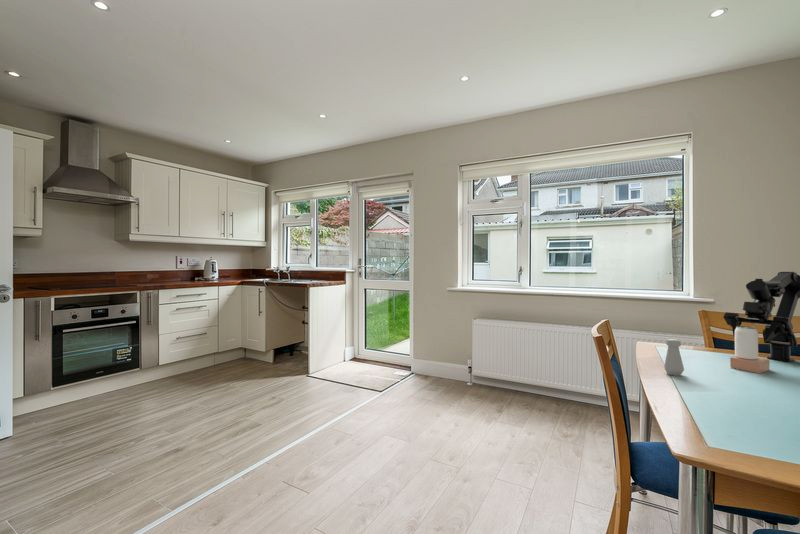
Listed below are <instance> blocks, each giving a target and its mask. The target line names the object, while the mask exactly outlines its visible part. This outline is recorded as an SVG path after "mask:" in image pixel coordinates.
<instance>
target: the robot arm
mask: <svg viewBox="0 0 800 534" xmlns="http://www.w3.org/2000/svg"><path fill="white" fill-rule="evenodd" d="M745 287H746V290H747V292H748V294H749V296H750V298H751V299H752V300H753V299H754V300H753V301H744V302H743V306H742V310H743V311H744V315H745V316H740V315H739V313H738V312H728V311H726V312H725V313H724V314H723V319H724V321H725V323H726V325H729V326H730V327H731V328H732V336H733V338H735V329H736V326H742V323H746V324H747V323H748V324H753V325H761V326H765V327H764V329H762V337H763V343H764V344H769V347H770V355H769V356H766V359H769V360H776V361H780V362H781V361H783V362H792V361H794V360H795V358H793V357H791V348H793V347H794V348H795V347H796V348H797V347H798V339H797V337H796V335H795V334H794V330H793V329H794V325H793V323H792V320H793V317H794V314H795V310H796V306H797V303H798V302H799V299H800V275H799V274H798V273H797V272H796V271H778V272H777V274H776V276H774V277H772V278H771V279H770V280H767V281H764V280H763V278H755V279H754V280H751V281H750V282H748V283H746V285H745ZM780 297H781V299H780V302H779V305H778V308H777V311H776V313H775V316H773V318H772V319H770V318H771V317H772V315H773V314H772V311H773V308H775V307H776V299H775V298H780Z"/></svg>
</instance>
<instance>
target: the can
mask: <svg viewBox="0 0 800 534" xmlns="http://www.w3.org/2000/svg"><path fill="white" fill-rule="evenodd" d="M734 356H736V357H737V358H741V359H747V360H757V359H758V358H759V332H758V330H757V327H755V326H749V325H740V326H736V329H735V337H734Z"/></svg>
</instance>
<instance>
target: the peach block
mask: <svg viewBox="0 0 800 534" xmlns="http://www.w3.org/2000/svg"><path fill="white" fill-rule="evenodd" d="M729 359H730V361H729V363H730V364H729V365H730V367H731V368H732V369H735V368H736V370H740V369H741V370H740V371H745V370H746V372H751V373H757V374H762V373H764V372H765V373H766V372H768V371H770V369H771V368H770V359H769V358H761V357H758V359H757V360H747V359H741V358H737V357H736V356H735V355H734V356H730V357H729ZM731 368H730V369H731Z"/></svg>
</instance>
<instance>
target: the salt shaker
mask: <svg viewBox="0 0 800 534" xmlns="http://www.w3.org/2000/svg"><path fill="white" fill-rule="evenodd" d="M665 343H666V345H667V351H666V355H665V361H664V366H663V368H664V370H665V372H666V374H668V375H669V376H673V375H674V377H681V375H682V374H683V372H684V371H685V368H684V364H683V360H682V355H681V353H680V347H681V345H682V342H681V341H680V340H679V339H676V338H667V340H666V341H665Z"/></svg>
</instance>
